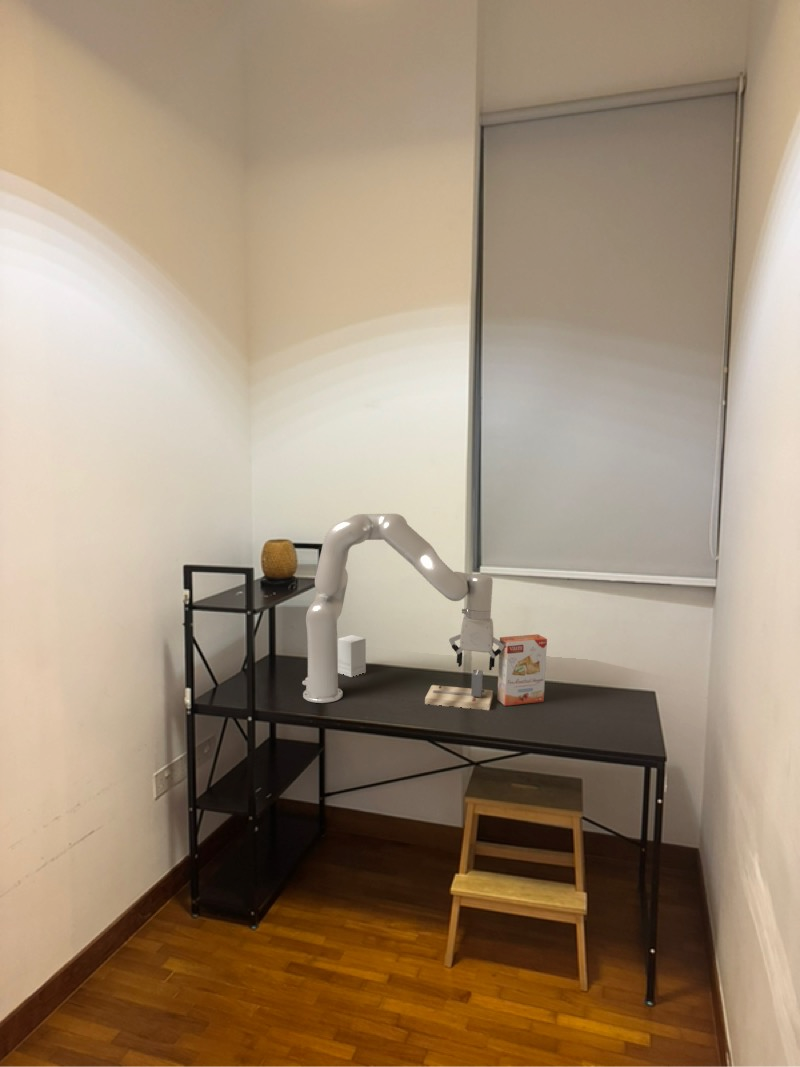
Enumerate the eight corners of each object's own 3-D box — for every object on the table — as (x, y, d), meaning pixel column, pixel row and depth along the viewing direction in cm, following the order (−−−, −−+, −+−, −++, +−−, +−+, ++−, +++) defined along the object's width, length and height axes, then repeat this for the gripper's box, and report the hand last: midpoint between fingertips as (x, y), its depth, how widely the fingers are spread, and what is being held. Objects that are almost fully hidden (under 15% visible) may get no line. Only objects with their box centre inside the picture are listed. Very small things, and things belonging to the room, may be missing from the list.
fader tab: (471, 696, 216) (471, 673, 215) (472, 691, 220) (473, 669, 219) (480, 696, 215) (481, 674, 214) (482, 691, 219) (482, 670, 218)
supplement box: (366, 673, 244) (366, 638, 242) (350, 678, 239) (350, 642, 237) (352, 668, 249) (352, 634, 247) (336, 672, 244) (336, 638, 242)
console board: (424, 704, 215) (425, 697, 215) (431, 690, 227) (431, 684, 227) (489, 710, 211) (489, 703, 211) (492, 696, 223) (492, 689, 222)
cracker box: (505, 707, 214) (507, 641, 211) (496, 700, 219) (498, 636, 217) (545, 702, 218) (547, 638, 215) (535, 695, 224) (537, 633, 221)
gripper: (449, 614, 212) (446, 667, 215) (505, 619, 209) (502, 674, 211) (452, 608, 220) (449, 660, 222) (507, 614, 216) (503, 666, 218)
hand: (475, 667), depth 216 cm, fingers open, 9 cm apart
